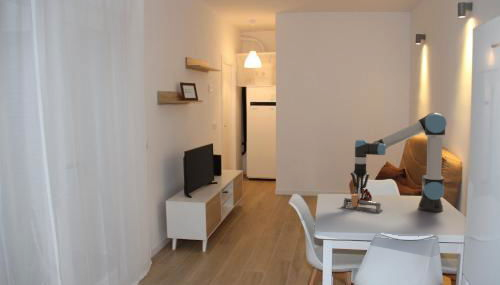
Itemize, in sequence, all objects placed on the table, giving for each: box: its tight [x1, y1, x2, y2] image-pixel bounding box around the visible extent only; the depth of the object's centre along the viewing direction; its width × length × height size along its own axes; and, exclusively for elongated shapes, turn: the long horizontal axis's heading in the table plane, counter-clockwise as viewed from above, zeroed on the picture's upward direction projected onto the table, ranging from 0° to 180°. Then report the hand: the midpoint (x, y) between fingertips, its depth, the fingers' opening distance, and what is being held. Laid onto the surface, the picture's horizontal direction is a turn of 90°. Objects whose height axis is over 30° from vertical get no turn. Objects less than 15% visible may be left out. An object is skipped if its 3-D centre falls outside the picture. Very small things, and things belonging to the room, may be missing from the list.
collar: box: [350, 193, 361, 207], centre depth 294 cm, size 4×6×7 cm
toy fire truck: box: [353, 187, 373, 202], centre depth 309 cm, size 7×12×10 cm, turn 63°
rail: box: [340, 197, 384, 215], centre depth 291 cm, size 26×8×6 cm, turn 55°
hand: (359, 197), depth 292 cm, fingers closed
